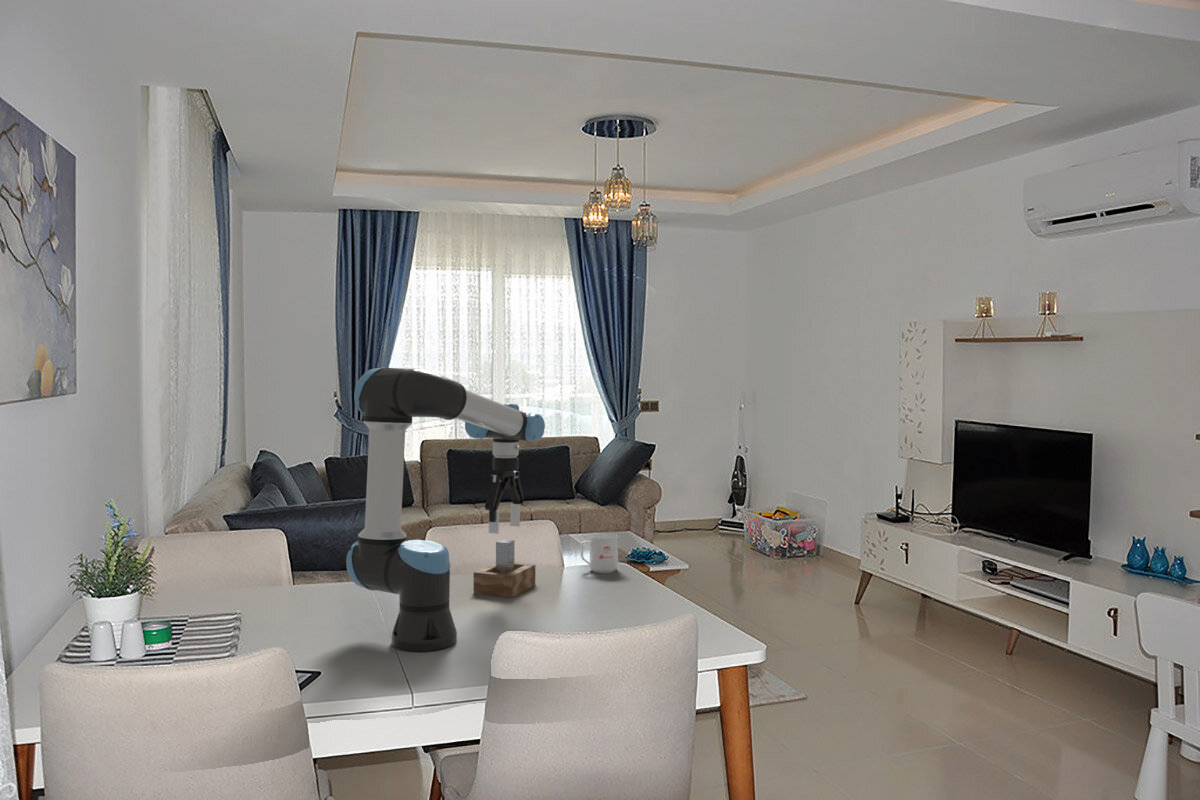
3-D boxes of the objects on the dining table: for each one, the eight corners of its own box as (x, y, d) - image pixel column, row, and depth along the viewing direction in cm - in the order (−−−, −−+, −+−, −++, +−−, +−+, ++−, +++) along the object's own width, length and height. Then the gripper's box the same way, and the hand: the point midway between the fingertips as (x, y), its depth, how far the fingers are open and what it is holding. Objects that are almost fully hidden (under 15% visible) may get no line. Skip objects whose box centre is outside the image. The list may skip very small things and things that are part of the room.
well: (511, 597, 259) (511, 576, 259) (473, 593, 263) (473, 572, 263) (535, 584, 274) (535, 564, 274) (499, 580, 278) (499, 560, 278)
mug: (612, 566, 299) (613, 532, 298) (621, 572, 290) (621, 537, 289) (576, 568, 295) (577, 534, 295) (584, 575, 287) (584, 539, 286)
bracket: (508, 591, 266) (508, 543, 265) (495, 589, 268) (495, 541, 267) (518, 585, 273) (519, 538, 272) (506, 584, 274) (506, 537, 273)
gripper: (497, 460, 254) (496, 537, 255) (535, 453, 277) (534, 524, 278) (473, 459, 257) (472, 535, 257) (513, 452, 280) (512, 522, 281)
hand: (504, 529), depth 268 cm, fingers open, 13 cm apart
